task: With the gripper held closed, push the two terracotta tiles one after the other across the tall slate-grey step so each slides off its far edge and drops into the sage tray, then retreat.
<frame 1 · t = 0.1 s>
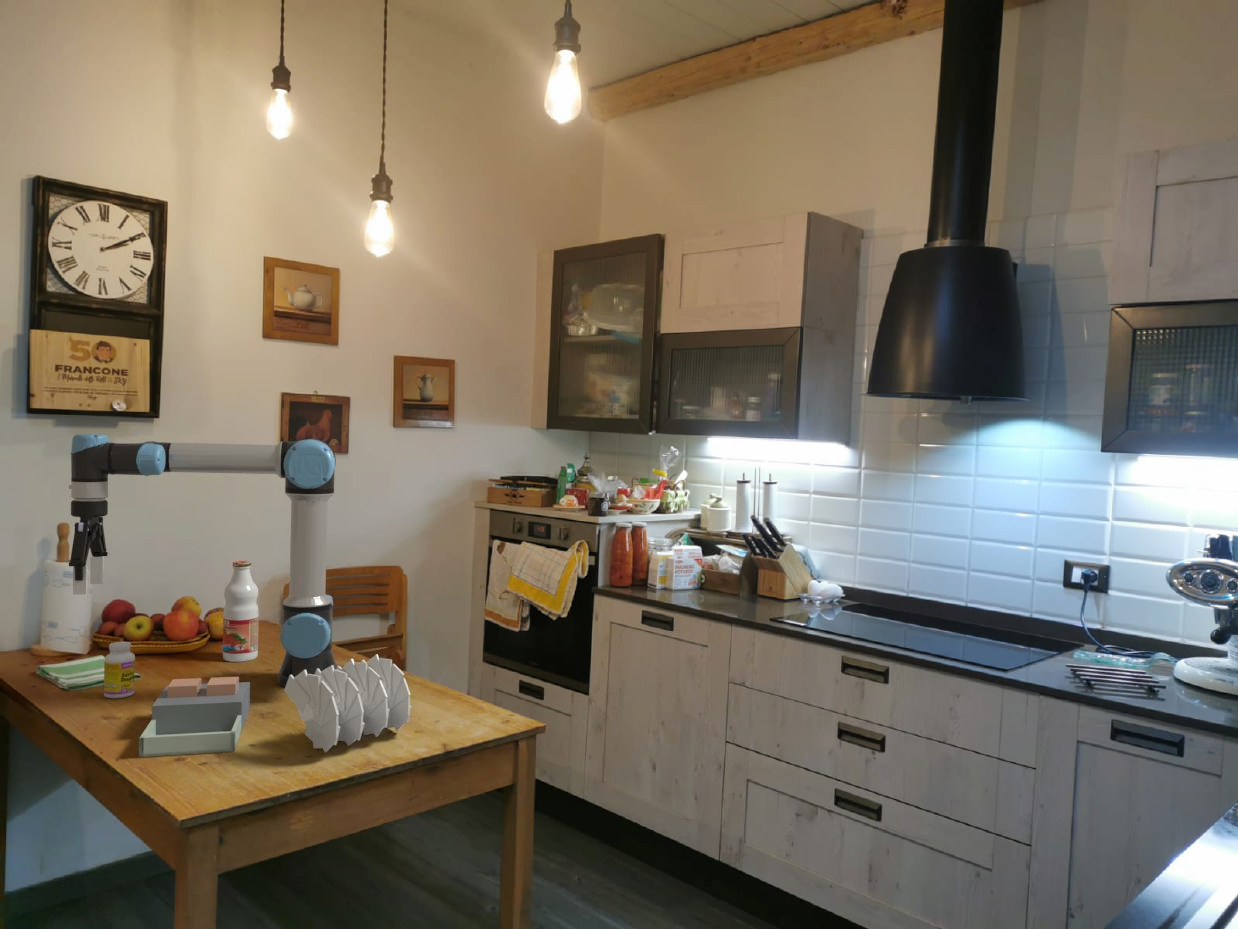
hand: (88, 588, 214), 28 cm above the table, fingers open, 13 cm apart
spiral staircase: (353, 740, 199), on the table
sage tray: (192, 744, 192), on the table
terracotta tile 2: (184, 693, 204), point 7 cm above the table, touching slate step
slate step: (202, 724, 205), on the table
dish towel: (87, 678, 239), on the table
supplement bottle: (119, 696, 224), on the table
fruit juice: (240, 659, 261), on the table
terracotta tile 1: (222, 691, 207), point 7 cm above the table, touching slate step
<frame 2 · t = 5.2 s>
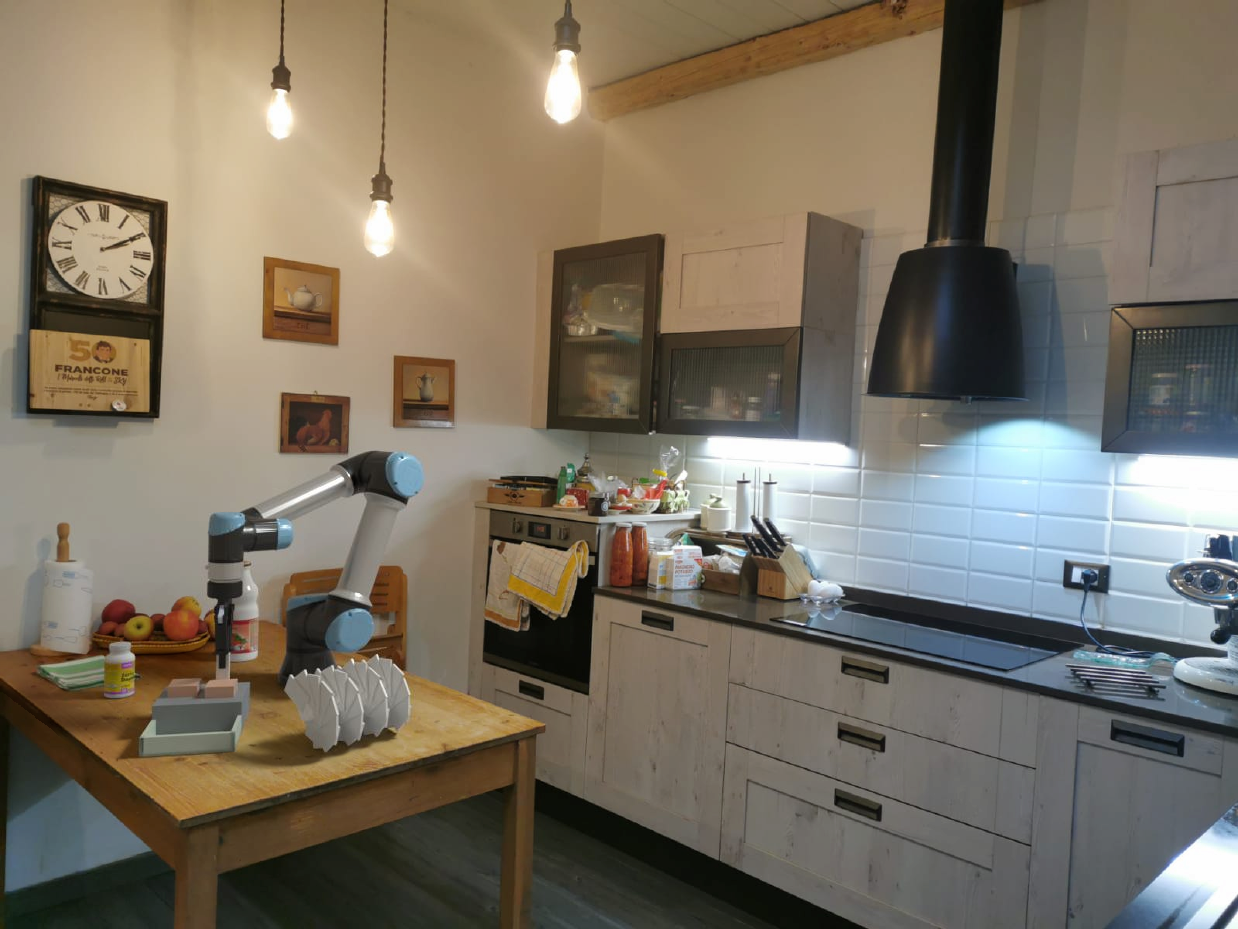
hand: (222, 681, 208), 9 cm above the table, fingers closed
terracotta tile 1: (221, 694, 205), point 7 cm above the table, touching gripper, slate step
everything else where it was.
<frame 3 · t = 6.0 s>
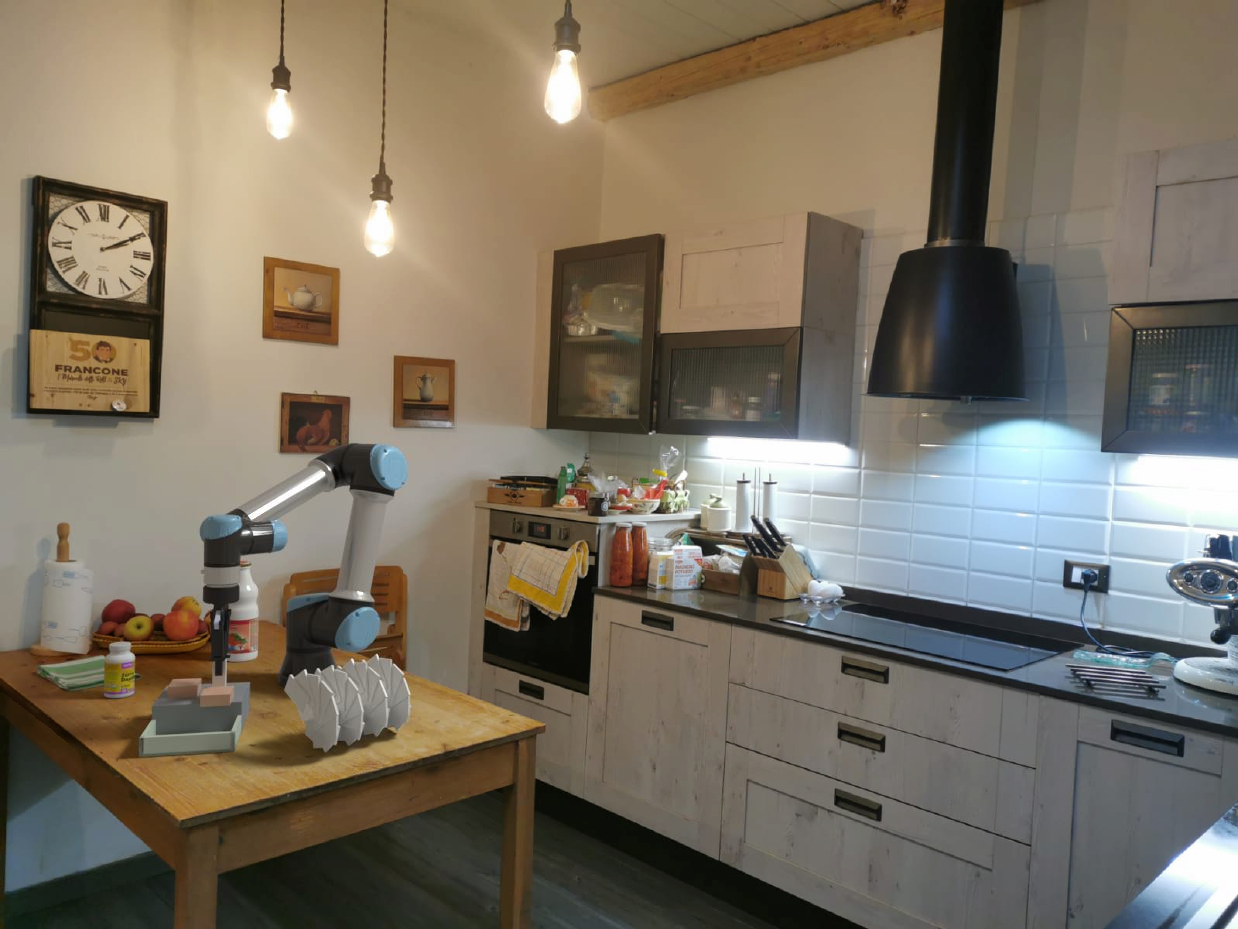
hand: (219, 688, 203), 9 cm above the table, fingers closed
terracotta tile 1: (217, 701, 199), point 7 cm above the table, touching gripper
everything else where it was.
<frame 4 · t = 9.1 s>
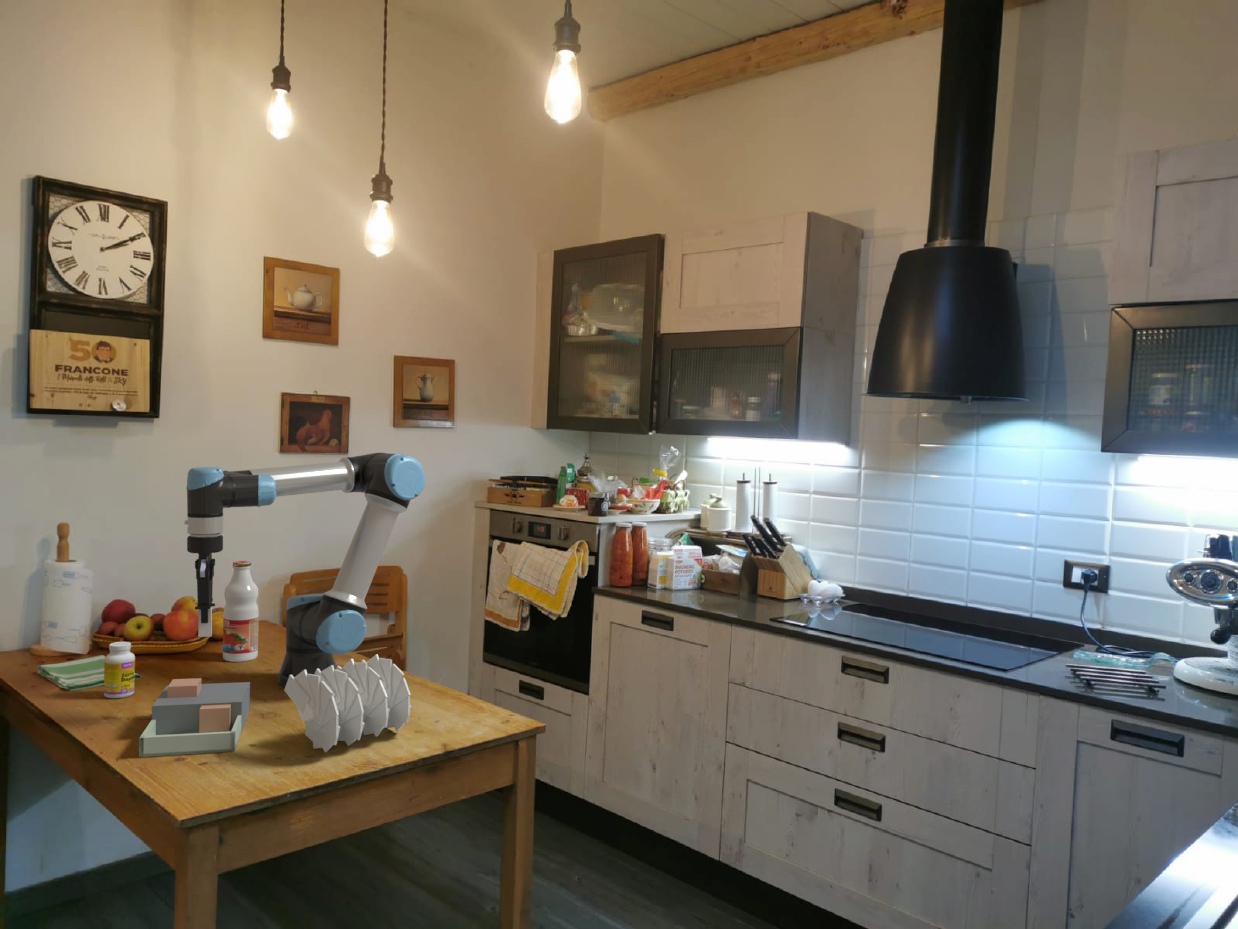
hand: (205, 636, 209), 19 cm above the table, fingers closed
terracotta tile 1: (216, 718, 199), point 4 cm above the table, tilted 90°, touching sage tray
everything else where it was.
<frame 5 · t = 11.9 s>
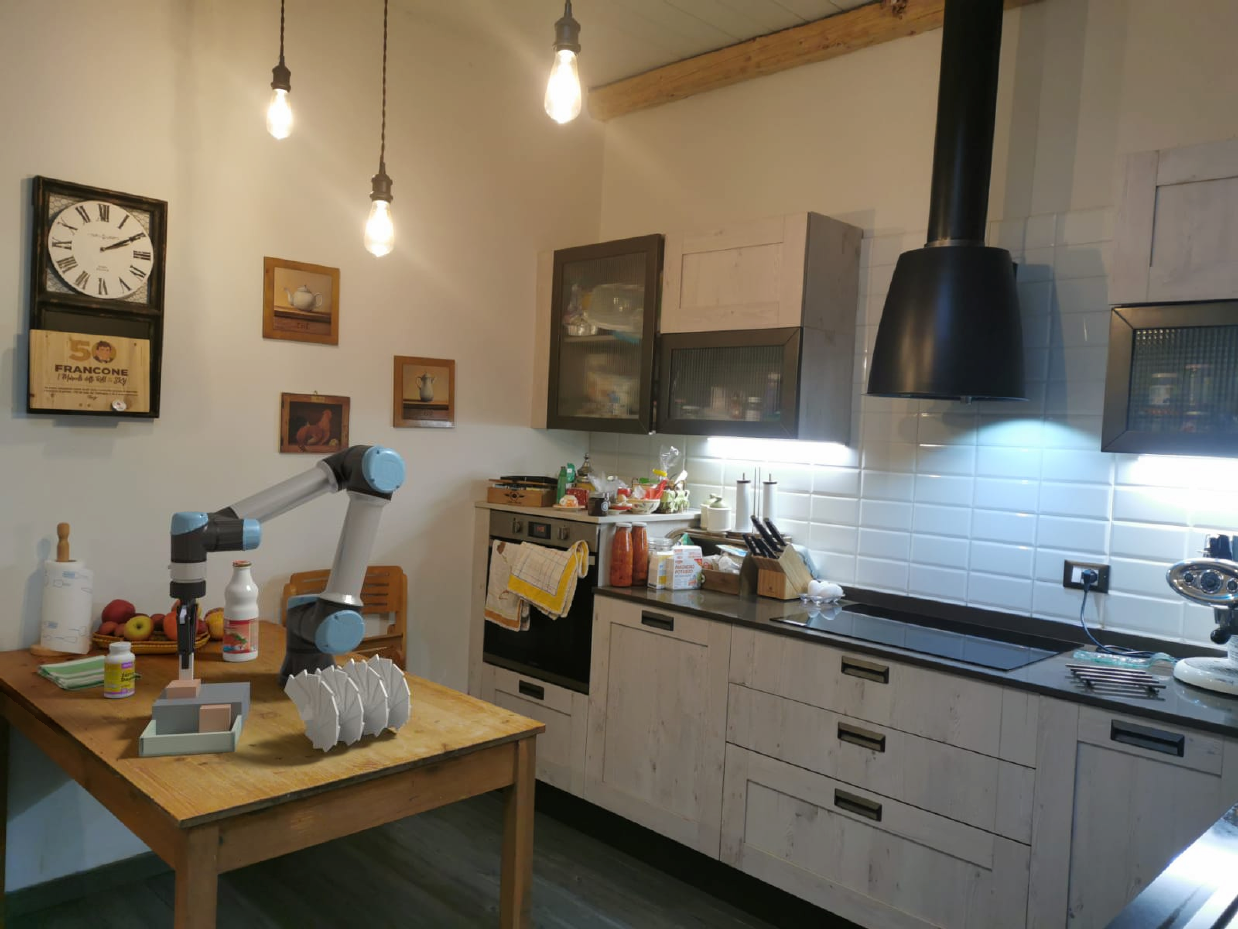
hand: (185, 681, 207), 9 cm above the table, fingers closed
terracotta tile 2: (183, 694, 204), point 7 cm above the table
everything else where it was.
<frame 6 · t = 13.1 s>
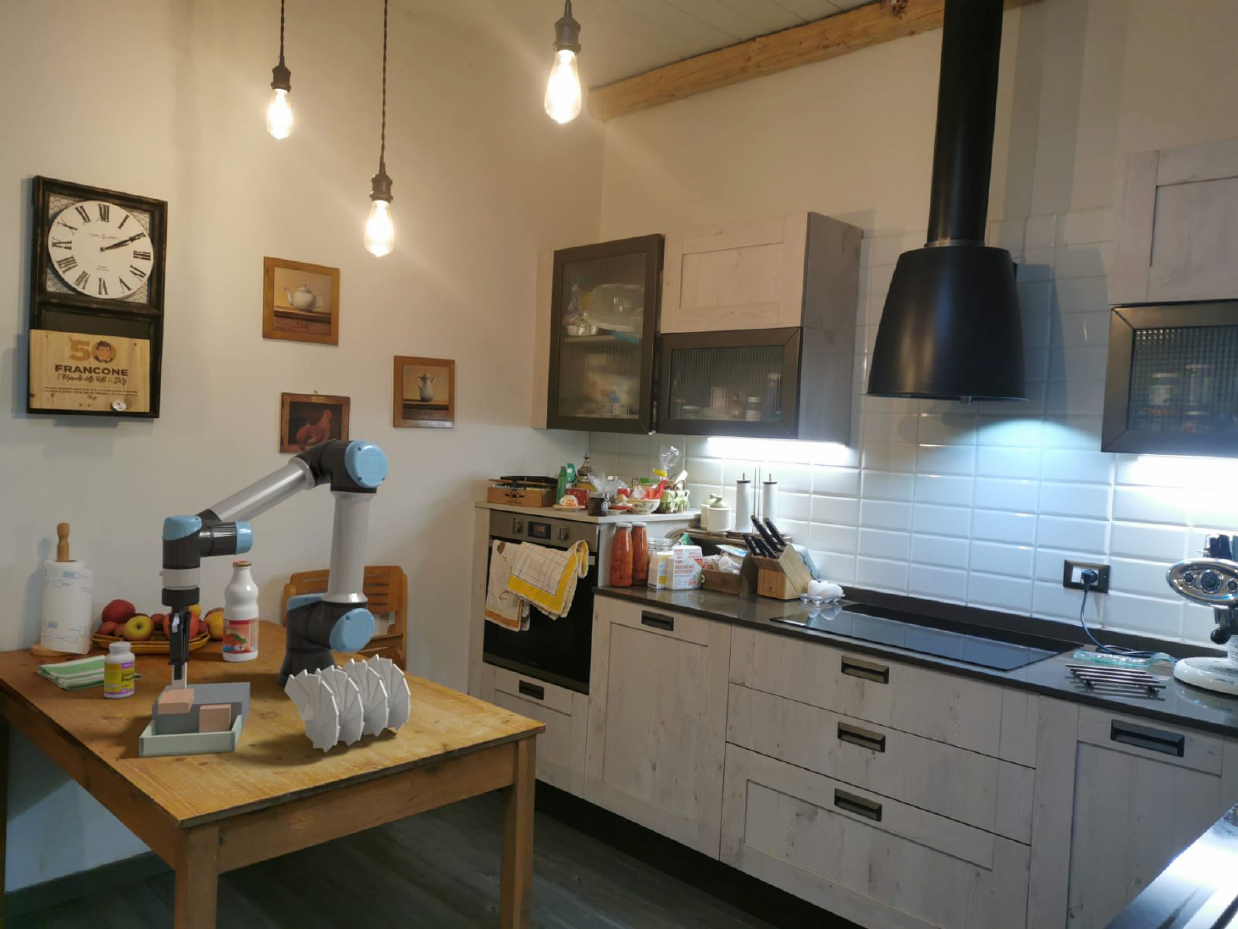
hand: (178, 692, 199), 9 cm above the table, fingers closed
terracotta tile 2: (176, 706, 196), point 7 cm above the table, tilted 12°, touching slate step
everything else where it was.
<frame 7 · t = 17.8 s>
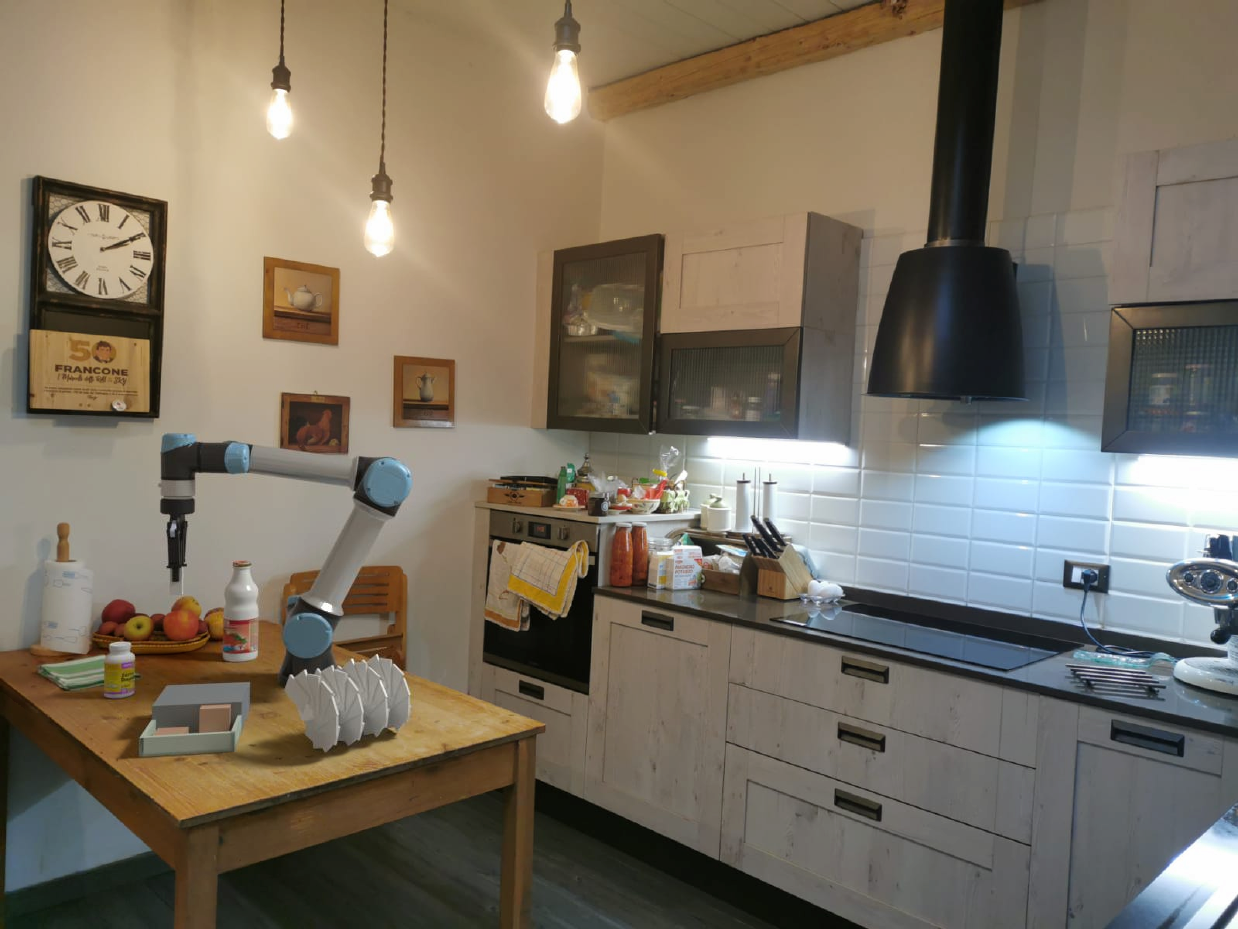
hand: (176, 594, 219), 26 cm above the table, fingers closed
terracotta tile 2: (169, 732, 190), point 3 cm above the table, tilted 180°, touching sage tray
everything else where it was.
at the end: terracotta tile 1 inside the target area (7.4 cm from its centre), point 3.6 cm above the table; terracotta tile 2 inside the target area (4.3 cm from its centre), point 3.1 cm above the table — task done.
